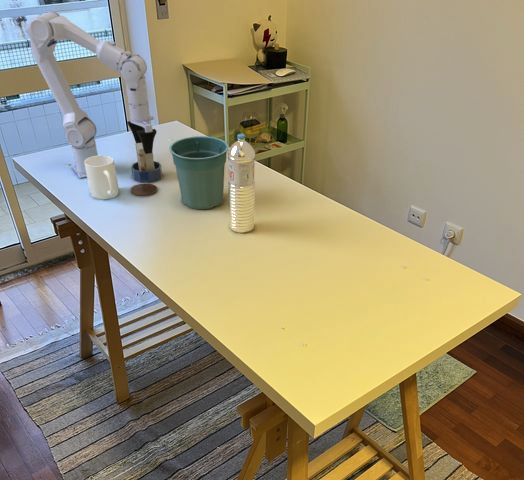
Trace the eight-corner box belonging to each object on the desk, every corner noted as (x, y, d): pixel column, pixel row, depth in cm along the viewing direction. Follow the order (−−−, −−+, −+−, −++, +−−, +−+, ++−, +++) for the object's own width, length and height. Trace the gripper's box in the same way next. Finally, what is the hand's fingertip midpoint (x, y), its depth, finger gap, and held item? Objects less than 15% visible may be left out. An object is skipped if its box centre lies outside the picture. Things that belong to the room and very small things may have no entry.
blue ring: (129, 174, 174) (127, 163, 171) (156, 168, 177) (155, 158, 175) (138, 184, 168) (136, 173, 165) (166, 179, 171) (165, 168, 169)
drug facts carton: (139, 174, 173) (134, 142, 167) (152, 172, 175) (148, 141, 168) (142, 180, 170) (138, 148, 163) (156, 178, 171) (152, 147, 164)
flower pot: (204, 219, 151) (201, 162, 140) (162, 202, 158) (156, 147, 148) (241, 199, 161) (240, 145, 150) (200, 184, 168) (197, 132, 158)
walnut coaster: (127, 188, 165) (126, 186, 165) (152, 183, 168) (151, 181, 168) (135, 198, 160) (135, 196, 160) (161, 193, 163) (160, 191, 163)
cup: (113, 185, 167) (107, 153, 160) (128, 200, 159) (123, 167, 152) (87, 191, 163) (80, 158, 156) (101, 207, 156) (94, 173, 149)
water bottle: (251, 234, 145) (251, 140, 128) (226, 232, 145) (224, 138, 129) (256, 223, 150) (257, 131, 133) (232, 220, 151) (230, 129, 134)
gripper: (160, 107, 154) (165, 154, 163) (143, 94, 164) (148, 139, 173) (136, 111, 152) (142, 158, 161) (120, 97, 161) (127, 143, 170)
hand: (144, 149), depth 167 cm, fingers open, 7 cm apart
